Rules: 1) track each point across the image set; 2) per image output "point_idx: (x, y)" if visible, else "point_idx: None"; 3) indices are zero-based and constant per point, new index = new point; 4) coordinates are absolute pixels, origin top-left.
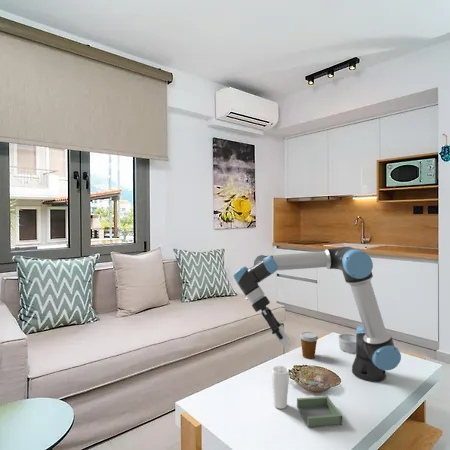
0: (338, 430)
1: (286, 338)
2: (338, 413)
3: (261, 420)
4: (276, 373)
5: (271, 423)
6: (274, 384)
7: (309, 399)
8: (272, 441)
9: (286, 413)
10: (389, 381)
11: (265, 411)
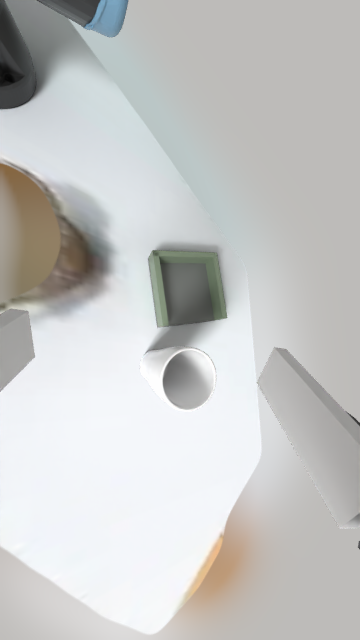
0: None
1: (19, 334)
2: (210, 256)
3: (203, 406)
4: (211, 394)
5: None
6: (187, 391)
7: (164, 296)
8: (249, 385)
9: None
10: (34, 49)
11: None
